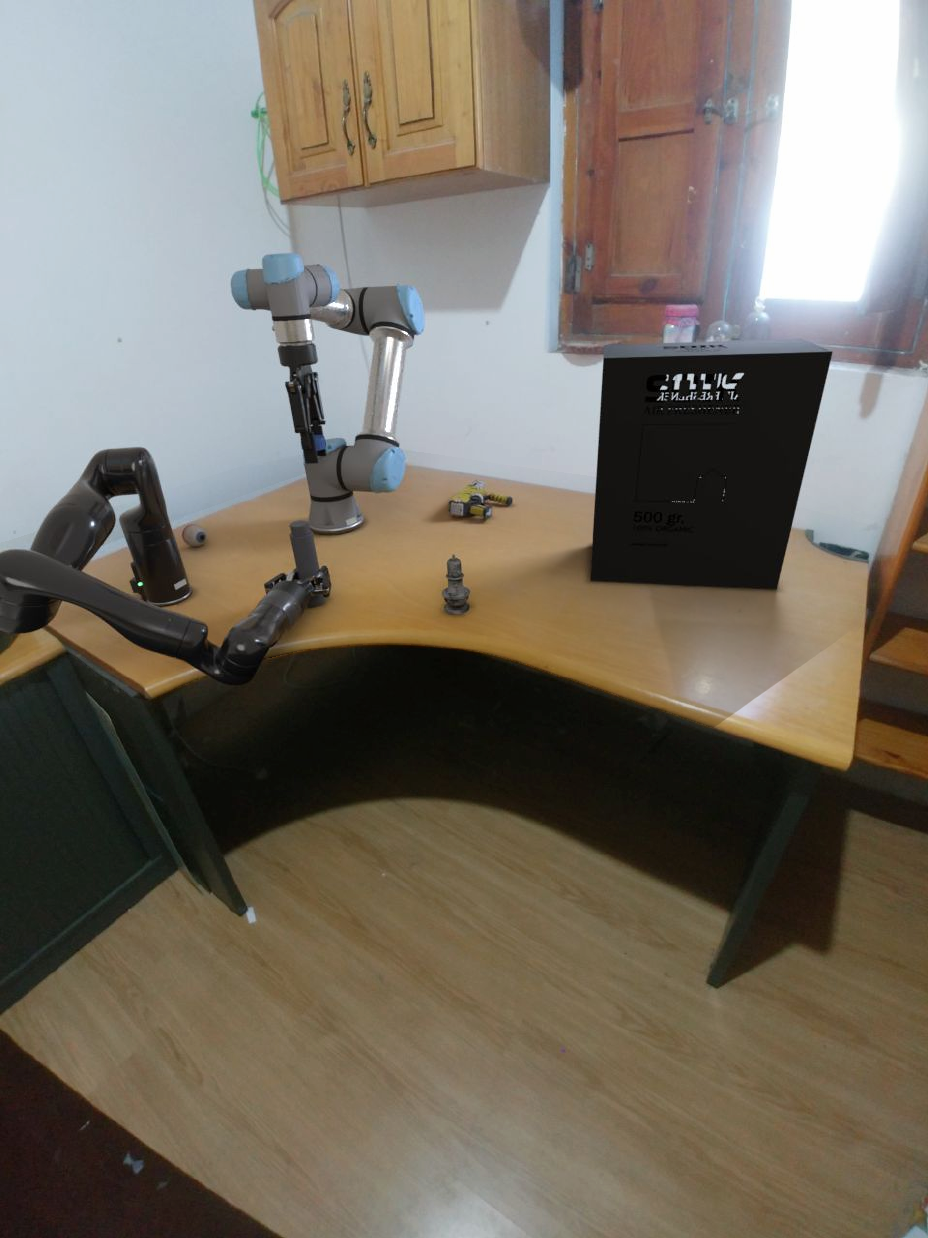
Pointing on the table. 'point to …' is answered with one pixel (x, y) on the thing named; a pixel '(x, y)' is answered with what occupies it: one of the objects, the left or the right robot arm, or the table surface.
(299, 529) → the dark gray cylinder
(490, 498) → the toy gun
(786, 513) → the cardboard box
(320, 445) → the lid
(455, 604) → the dark grey chess piece
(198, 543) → the eyeball
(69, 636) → the table surface
